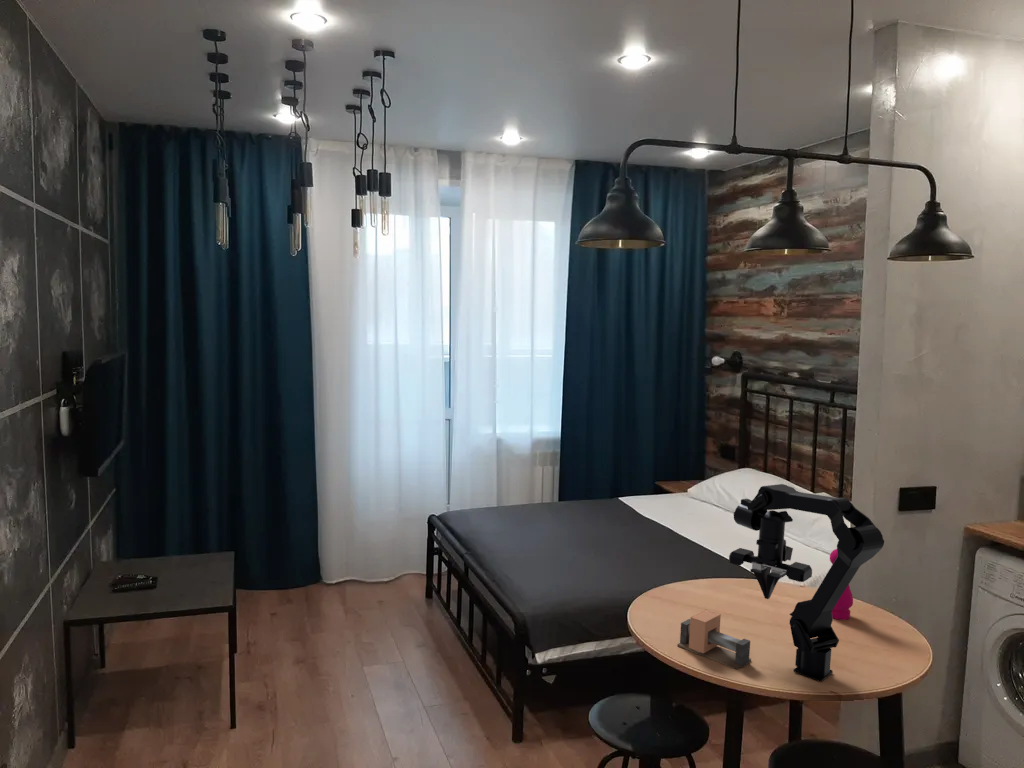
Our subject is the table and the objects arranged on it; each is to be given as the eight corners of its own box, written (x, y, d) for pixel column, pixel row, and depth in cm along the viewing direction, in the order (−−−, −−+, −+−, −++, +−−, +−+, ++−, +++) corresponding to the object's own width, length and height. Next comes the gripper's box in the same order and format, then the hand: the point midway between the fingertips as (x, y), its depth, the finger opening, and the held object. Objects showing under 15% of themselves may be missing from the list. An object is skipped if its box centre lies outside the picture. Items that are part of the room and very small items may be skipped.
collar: (718, 644, 187) (720, 614, 186) (703, 653, 182) (705, 622, 181) (704, 639, 190) (706, 609, 189) (688, 647, 185) (690, 616, 184)
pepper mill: (838, 608, 214) (843, 538, 212) (857, 618, 207) (863, 546, 205) (817, 611, 212) (822, 540, 210) (836, 622, 205) (842, 548, 203)
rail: (751, 661, 181) (753, 639, 180) (738, 669, 176) (739, 647, 176) (690, 638, 192) (692, 617, 192) (676, 645, 188) (677, 624, 187)
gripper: (823, 537, 186) (818, 600, 188) (749, 521, 198) (745, 580, 200) (804, 547, 178) (800, 613, 179) (729, 530, 190) (725, 591, 192)
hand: (767, 598), depth 188 cm, fingers closed
